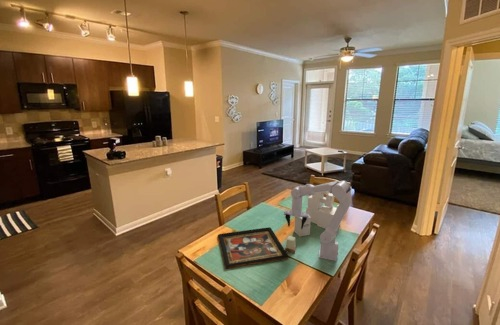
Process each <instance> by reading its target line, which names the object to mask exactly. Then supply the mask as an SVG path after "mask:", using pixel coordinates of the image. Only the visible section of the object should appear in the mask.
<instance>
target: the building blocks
mask: <svg viewBox="0 0 500 325" xmlns="http://www.w3.org/2000/svg"><path fill="white" fill-rule="evenodd" d="M324 195H326V196H324ZM334 202H335V196H334V195H333V194H332V193H331V194H330V193H329V192H328V191H319V192H315V193H314V194H313V195H308V197H307V206H306V208H305V213H306V214H309V216H310V217H311V223H313V224H316V226H317V227H319V228H323V229H325V230H326V228H327V227H328V225H329V223H330V221H331V219H332V217H333V215H334V214H335V212H336V210H337V208H338V206H339V204H337V205H336V207H335V206H334Z"/></svg>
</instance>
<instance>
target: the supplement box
mask: <svg viewBox="0 0 500 325" xmlns="http://www.w3.org/2000/svg"><path fill="white" fill-rule="evenodd" d="M304 213H305V214H306V212H304ZM311 224H312V222H311V217H310V216H309V219H306V222H305V223H304V225H303V228H302V229H301V226H302V217H295V216H294V230H293V231H294V232H295V234H297V235H298V237H300V238H302V237H305V236H309V235H310V234H311V233H310V232H311Z"/></svg>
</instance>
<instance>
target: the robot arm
mask: <svg viewBox="0 0 500 325" xmlns="http://www.w3.org/2000/svg"><path fill="white" fill-rule="evenodd" d="M319 191H328V192H329V193H330V194H333V195H334V198H335V199H336V200H337V201H338V202H339V204H338V205H339V206H338V208H337V207H336V208H337V210H336V212H335V214H334V215H333V217H332V219H331V221H330V223H329V225H328V227H327V228H326V229H325V230H324V231H323V232H321V233H320V235H319V240H320V247H319V252H318V258H319V259H323V260H324V259H325V260H329V261H334V262H337V261H338V256H339V241H336V239H335V238H336V237H337V236H338V230H339V227H340V225H341V223H342V221H343V219H344V217H345V216H346V214H347V212H348V211H349V208H350V206H352V205H351V204H352V203H353V202H352V200H353V199H352V187H351V184H350V183H349V182H348V181H347V180H340V181H339V180H336V181H335V180H334V181H331V182H325V183H321V184H318V185H313V184H310V183H306V184H305V185H298V186H295V187H294V188H292V189H291V191H290V195H291V197H292V199H291V210H284V211H283V215H284V218H285V220H286V222H287V227H289V228H290V226H291V216H292V217H294V218H295V217H302V226H301V229H302V228H303V225H304V223H305V222H306V219H309V214H305V213H306V212H302V205H303V197H306V196H311V195H313V194H314V193H315V192H319Z"/></svg>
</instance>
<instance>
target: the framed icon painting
mask: <svg viewBox="0 0 500 325" xmlns="http://www.w3.org/2000/svg"><path fill="white" fill-rule="evenodd" d="M217 237H218V242H219V246H220V249H221V255H222V260H223V264H224V268H225V269H226V270H229V269H234V268H240V267H245V266H252V265H256V264H264V263H269V262H275V261H276V262H277V261H282V260H288V259H289V258H290V257H289V255H288V252H286V251H285V247H284V246H283V245H282V243H281V241H280V240H279V238H278V237H277V235H276V233H275V231H274V230H273V229H272V228H271V227H261V228H255V229H254V228H253V229H246V230H239V231H232V232H225V233H218V234H217Z"/></svg>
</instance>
